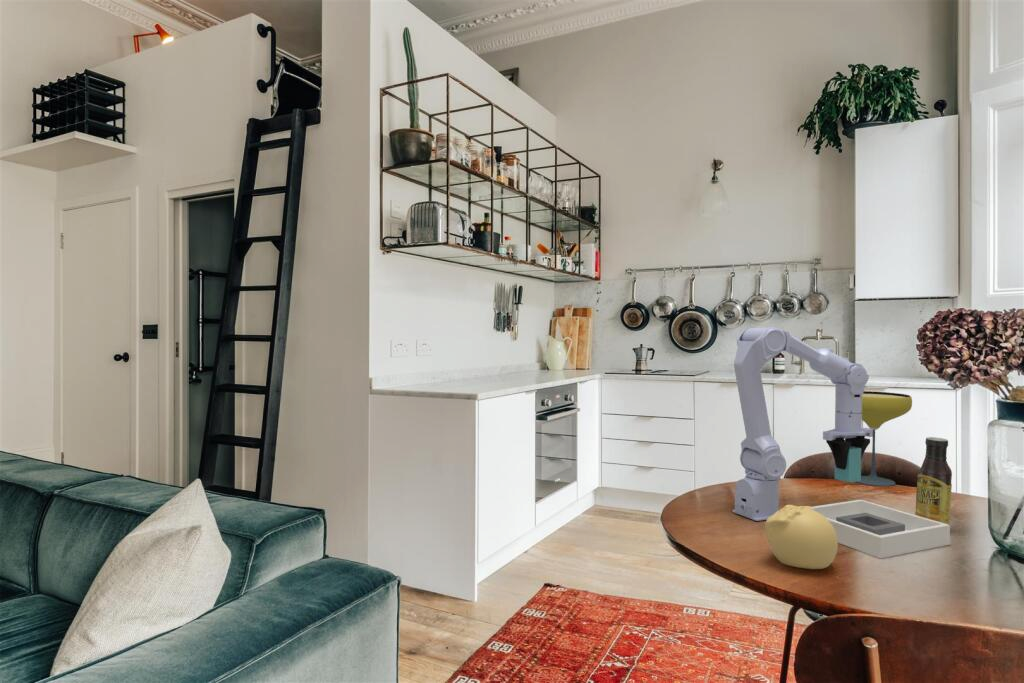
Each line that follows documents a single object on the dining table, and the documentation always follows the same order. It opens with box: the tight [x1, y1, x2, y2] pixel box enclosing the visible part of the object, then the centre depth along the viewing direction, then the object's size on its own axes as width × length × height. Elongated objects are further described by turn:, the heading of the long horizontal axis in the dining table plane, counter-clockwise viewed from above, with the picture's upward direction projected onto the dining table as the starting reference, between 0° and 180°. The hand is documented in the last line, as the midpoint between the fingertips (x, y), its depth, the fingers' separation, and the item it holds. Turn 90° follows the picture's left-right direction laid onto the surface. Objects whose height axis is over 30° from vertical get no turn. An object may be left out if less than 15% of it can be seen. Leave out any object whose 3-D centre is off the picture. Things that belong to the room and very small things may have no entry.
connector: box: [834, 446, 862, 483], centre depth 150 cm, size 4×4×8 cm
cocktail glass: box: [856, 390, 913, 487], centre depth 176 cm, size 18×18×25 cm
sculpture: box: [764, 504, 839, 570], centre depth 115 cm, size 12×12×11 cm
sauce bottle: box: [914, 436, 953, 525], centre depth 134 cm, size 7×6×20 cm
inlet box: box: [810, 499, 951, 559], centre depth 130 cm, size 20×20×4 cm
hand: (847, 467), depth 150 cm, fingers closed on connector, 4 cm apart
